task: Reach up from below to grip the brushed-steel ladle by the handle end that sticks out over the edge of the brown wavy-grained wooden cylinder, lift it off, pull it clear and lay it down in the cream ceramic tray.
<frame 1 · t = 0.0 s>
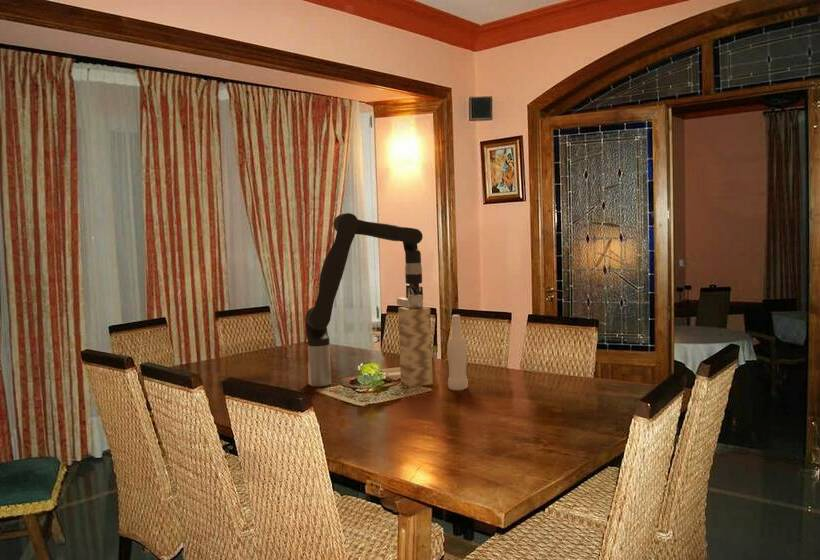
hand: (414, 308, 292), 29 cm above the table, tool pointing down, fingers open, 8 cm apart
brown wavy-grained wooden cylinder: (416, 382, 274), on the table
bottle: (458, 388, 261), on the table
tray: (396, 376, 287), on the table
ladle: (415, 308, 269), point 32 cm above the table, touching brown wavy-grained wooden cylinder
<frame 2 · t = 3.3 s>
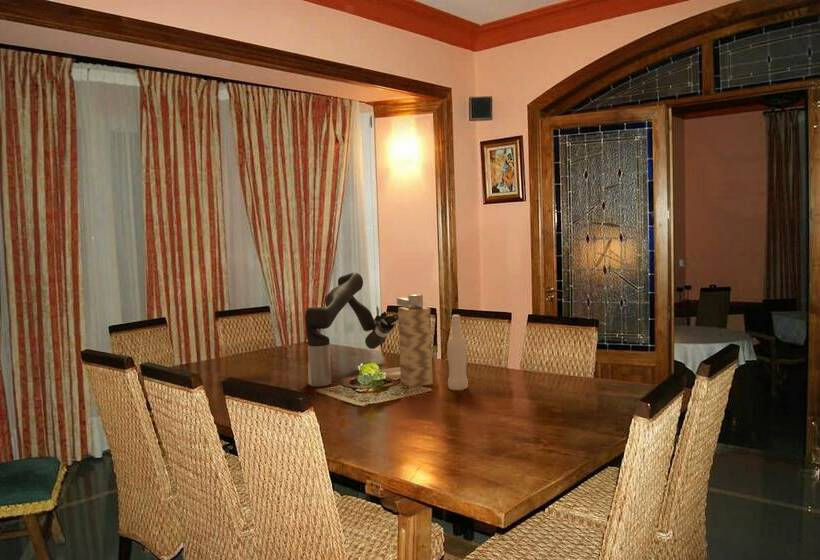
hand: (394, 312, 294), 28 cm above the table, tool pointing upward, fingers open, 8 cm apart
nothing on the table moved.
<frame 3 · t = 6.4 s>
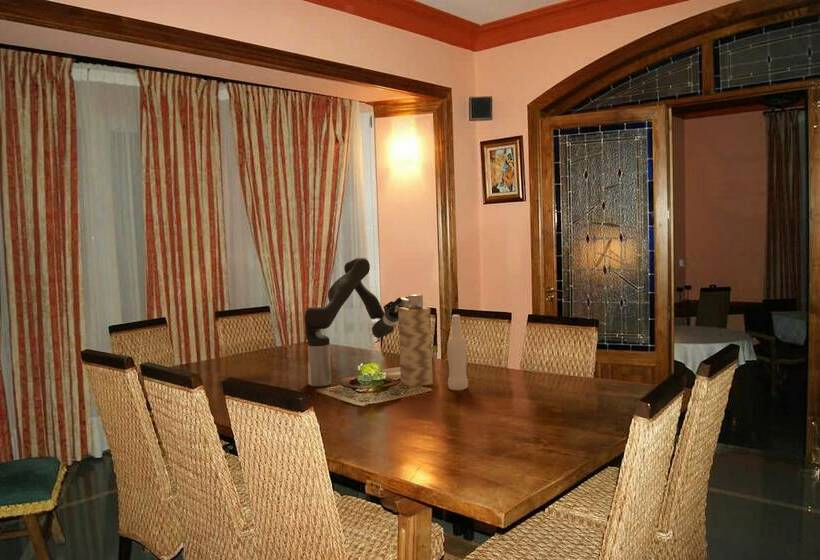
hand: (404, 298, 281), 35 cm above the table, tool pointing upward, fingers closed on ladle, 3 cm apart
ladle: (415, 308, 269), point 32 cm above the table, touching gripper, brown wavy-grained wooden cylinder
everything else where it was.
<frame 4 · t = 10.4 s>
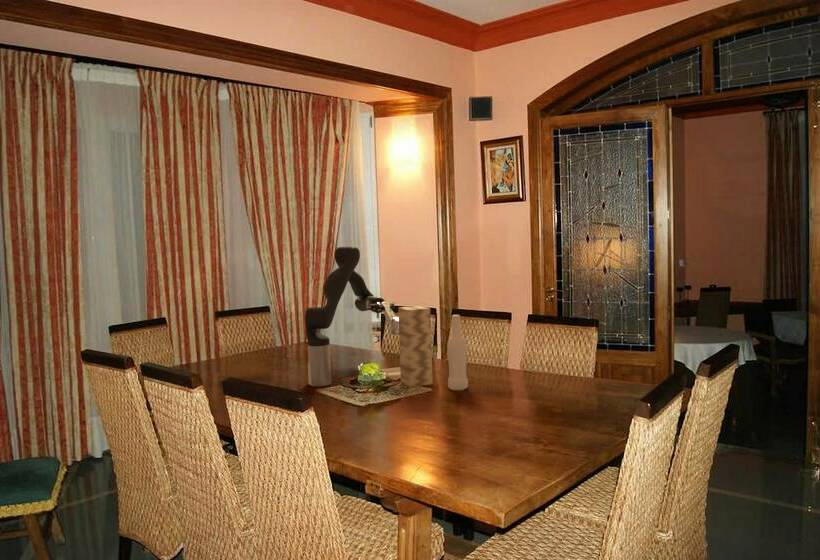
hand: (387, 308, 295), 30 cm above the table, tool horizontal, fingers closed on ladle, 3 cm apart
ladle: (396, 331, 287), point 20 cm above the table, tilted 31°, touching gripper
everything else where it was.
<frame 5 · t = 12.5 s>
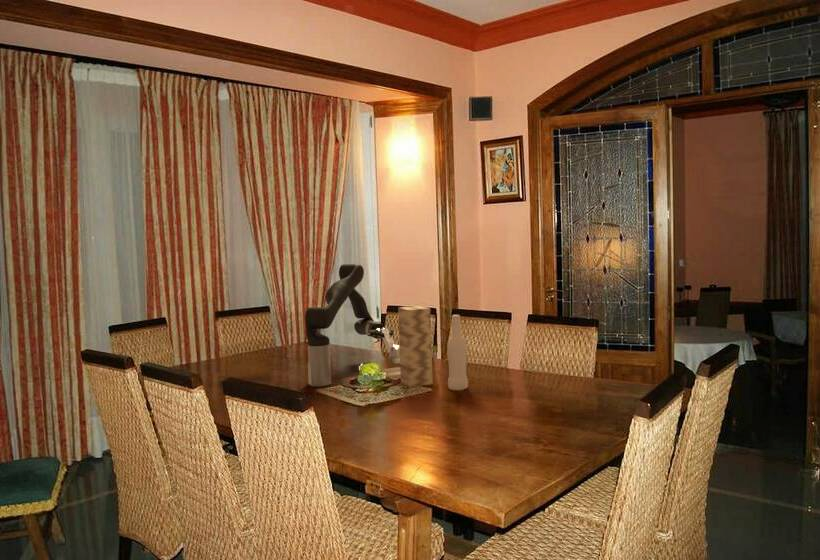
hand: (387, 335, 296), 17 cm above the table, tool horizontal, fingers closed on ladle, 3 cm apart
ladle: (395, 358, 288), point 8 cm above the table, tilted 31°, touching gripper
everything else where it was.
when the fingers open (14 cm above the table, at t = 13.6 s): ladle moves 1 cm, resting on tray.
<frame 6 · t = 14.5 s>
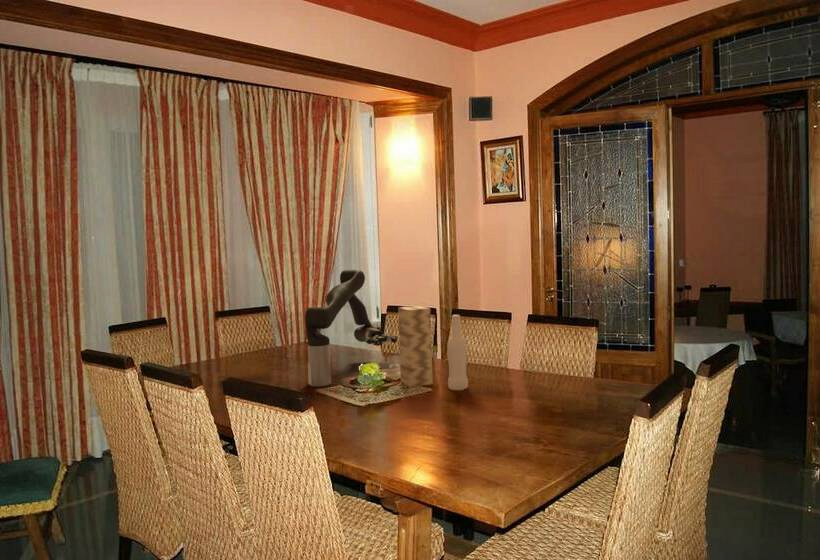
hand: (386, 341, 297), 14 cm above the table, tool horizontal, fingers open, 8 cm apart
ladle: (395, 368, 289), point 3 cm above the table, tilted 11°, touching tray
everything else where it was.
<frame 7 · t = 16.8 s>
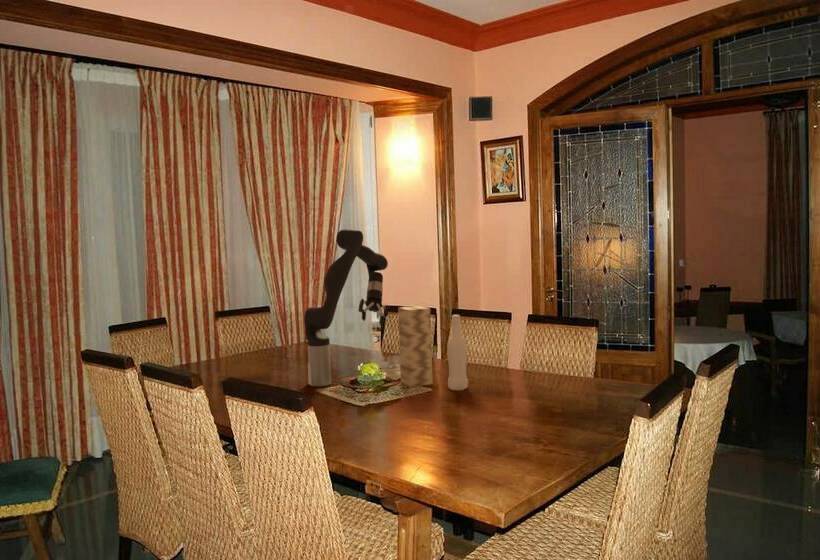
hand: (372, 322, 306), 22 cm above the table, tool tilted 35°, fingers open, 8 cm apart
nothing on the table moved.
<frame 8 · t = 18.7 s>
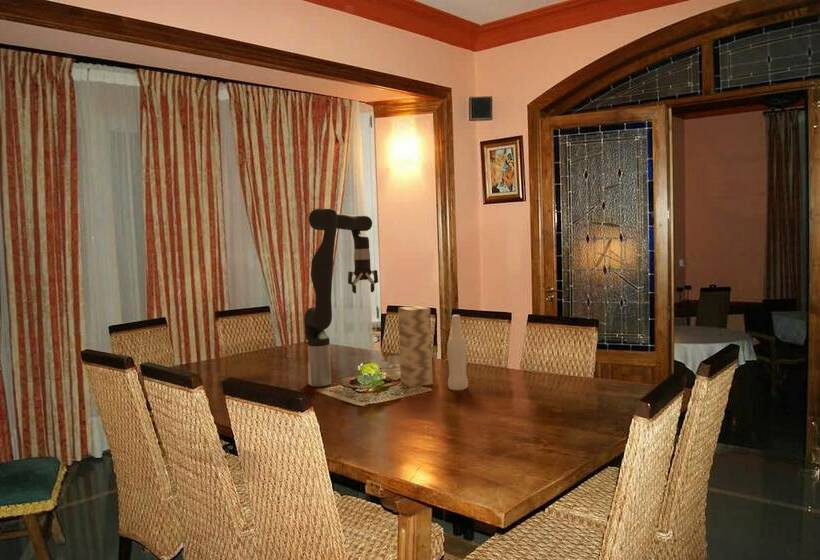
hand: (363, 292, 305), 36 cm above the table, tool pointing down, fingers open, 8 cm apart
nothing on the table moved.
at the end: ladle inside the target area on the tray (2.1 cm from its centre), point 3.5 cm above the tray's base; the gripper is holding nothing; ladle moved 34.9 cm from its start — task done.
